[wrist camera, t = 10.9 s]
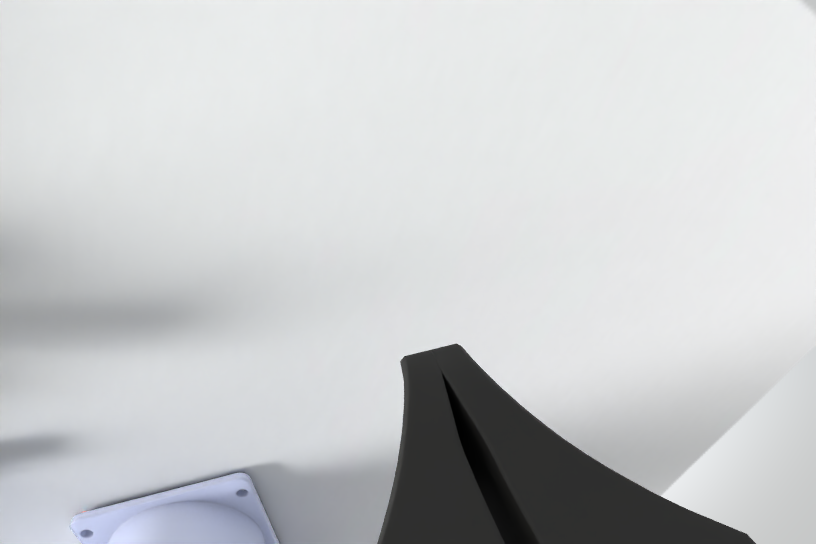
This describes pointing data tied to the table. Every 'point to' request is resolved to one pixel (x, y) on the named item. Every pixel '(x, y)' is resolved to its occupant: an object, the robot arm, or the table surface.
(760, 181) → the table surface
